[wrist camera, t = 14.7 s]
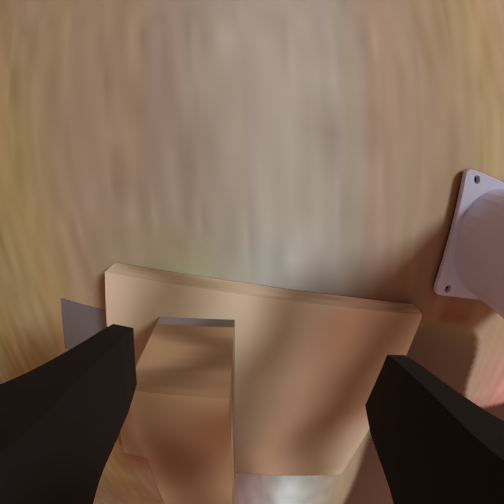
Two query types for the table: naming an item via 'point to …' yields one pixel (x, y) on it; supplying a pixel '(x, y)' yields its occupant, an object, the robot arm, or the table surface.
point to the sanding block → (188, 409)
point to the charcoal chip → (81, 322)
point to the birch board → (276, 361)
